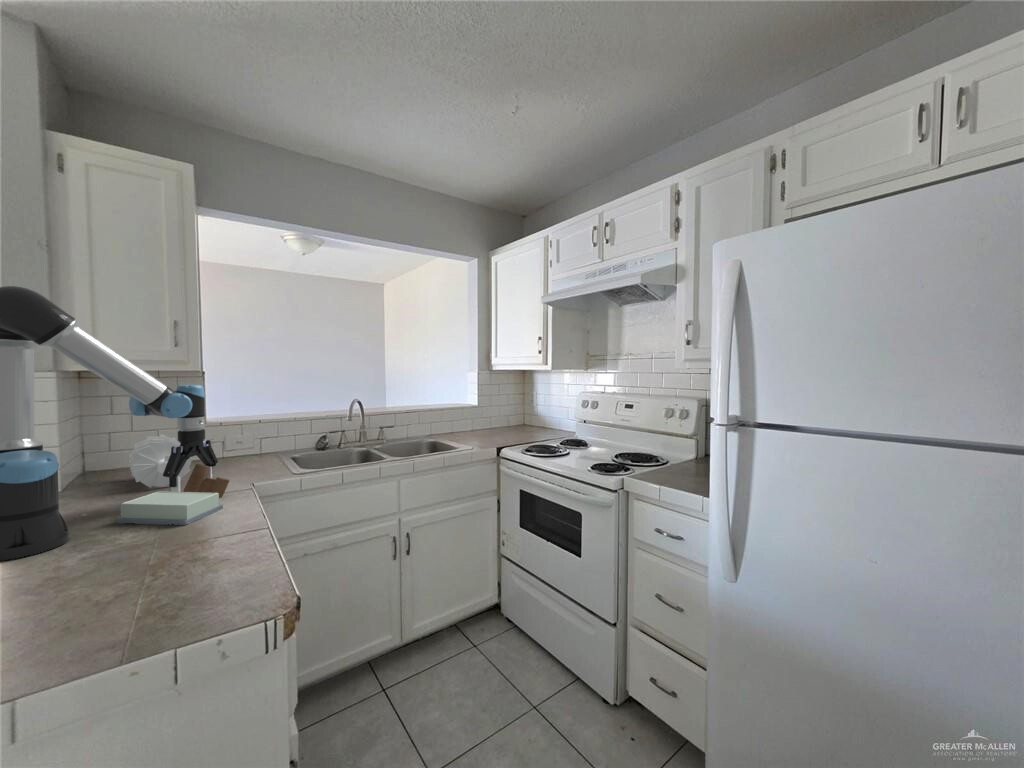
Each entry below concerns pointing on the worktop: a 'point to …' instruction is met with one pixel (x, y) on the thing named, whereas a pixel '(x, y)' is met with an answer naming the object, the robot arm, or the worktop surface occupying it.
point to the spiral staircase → (154, 460)
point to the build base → (169, 508)
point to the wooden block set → (205, 482)
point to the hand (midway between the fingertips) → (192, 490)
